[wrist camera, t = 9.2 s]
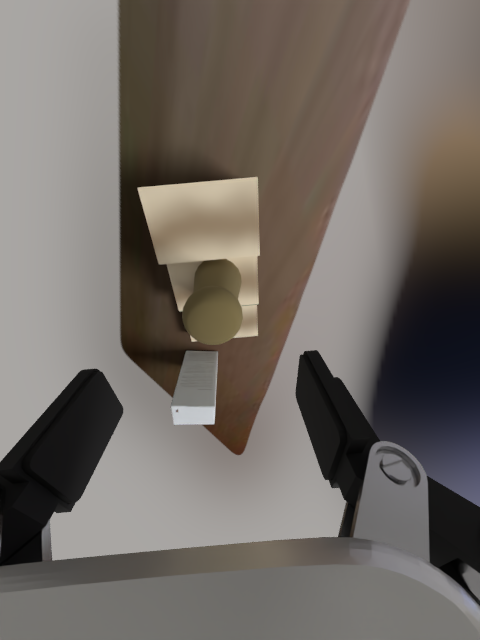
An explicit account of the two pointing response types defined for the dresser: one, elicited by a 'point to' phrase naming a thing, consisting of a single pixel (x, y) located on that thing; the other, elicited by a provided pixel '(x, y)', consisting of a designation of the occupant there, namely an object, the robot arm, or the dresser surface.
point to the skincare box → (196, 389)
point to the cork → (214, 303)
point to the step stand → (207, 235)
